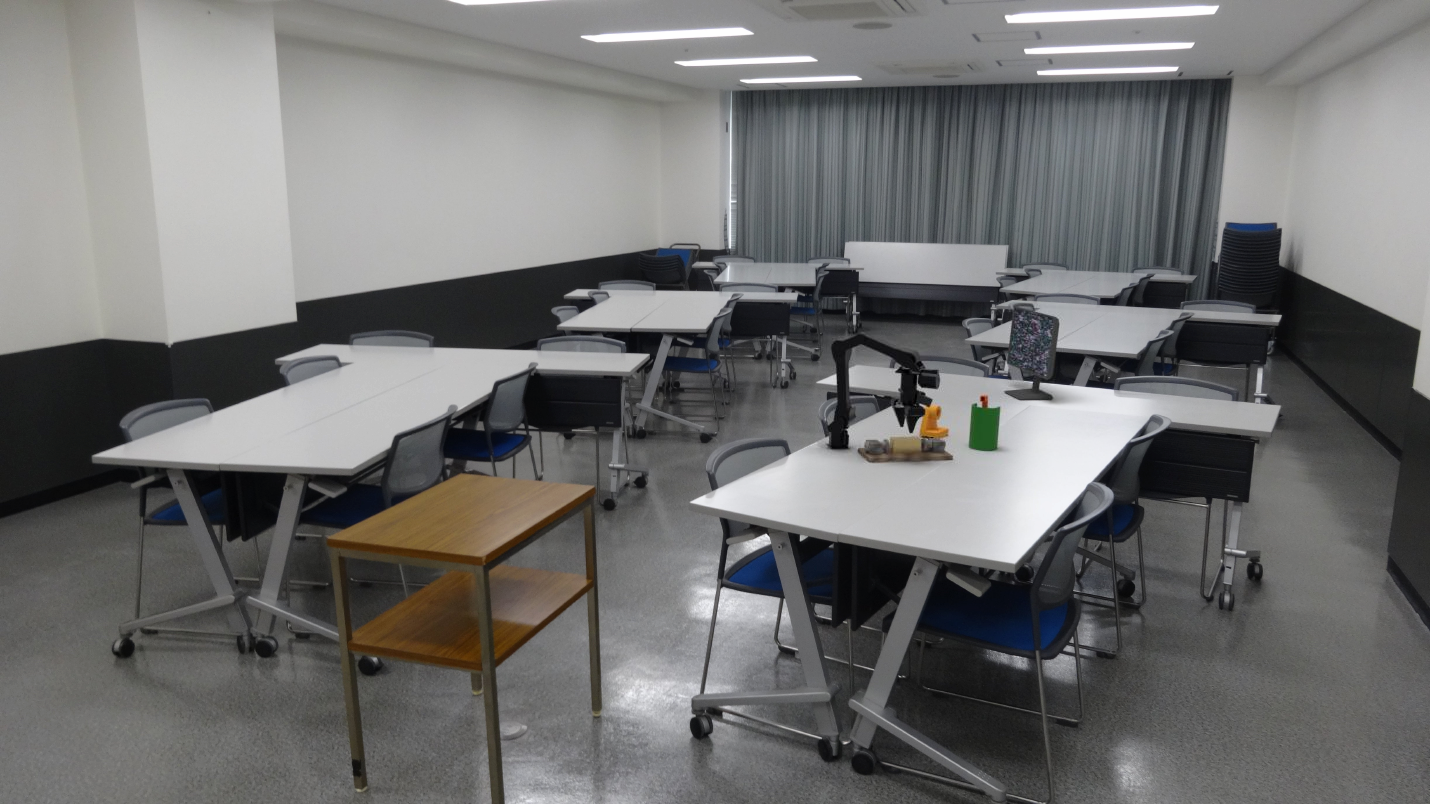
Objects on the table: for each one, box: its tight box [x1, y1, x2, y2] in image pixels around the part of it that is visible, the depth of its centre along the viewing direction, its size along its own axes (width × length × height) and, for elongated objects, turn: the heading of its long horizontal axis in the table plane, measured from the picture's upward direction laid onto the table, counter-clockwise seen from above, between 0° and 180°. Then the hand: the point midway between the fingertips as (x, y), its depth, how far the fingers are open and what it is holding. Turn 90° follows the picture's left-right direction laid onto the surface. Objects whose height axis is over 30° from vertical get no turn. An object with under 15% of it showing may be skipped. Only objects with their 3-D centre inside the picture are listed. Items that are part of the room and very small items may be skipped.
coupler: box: [889, 435, 922, 454], centre depth 335 cm, size 10×4×5 cm, turn 99°
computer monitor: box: [1003, 305, 1060, 401], centre depth 440 cm, size 44×16×40 cm, turn 6°
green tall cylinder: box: [968, 394, 1001, 451], centre depth 347 cm, size 10×9×20 cm
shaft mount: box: [857, 437, 954, 463], centre depth 335 cm, size 30×14×6 cm, turn 99°
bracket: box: [919, 404, 950, 439], centre depth 364 cm, size 11×7×12 cm, turn 142°
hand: (906, 430), depth 334 cm, fingers open, 9 cm apart
